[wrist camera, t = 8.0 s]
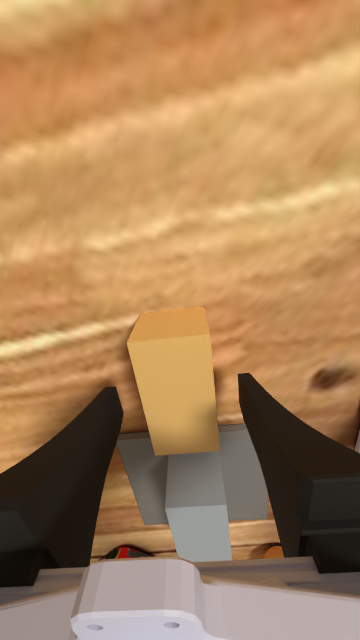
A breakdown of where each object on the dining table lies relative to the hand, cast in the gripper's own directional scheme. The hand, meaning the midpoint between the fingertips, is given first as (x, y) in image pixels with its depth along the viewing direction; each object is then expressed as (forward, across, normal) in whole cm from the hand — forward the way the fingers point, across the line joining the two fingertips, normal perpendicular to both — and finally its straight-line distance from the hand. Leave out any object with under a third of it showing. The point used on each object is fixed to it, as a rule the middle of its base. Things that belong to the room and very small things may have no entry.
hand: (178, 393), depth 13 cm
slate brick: (+2, 0, +12) cm, 12 cm away
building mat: (+3, 0, +12) cm, 12 cm away
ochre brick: (+3, 0, 0) cm, 3 cm away
